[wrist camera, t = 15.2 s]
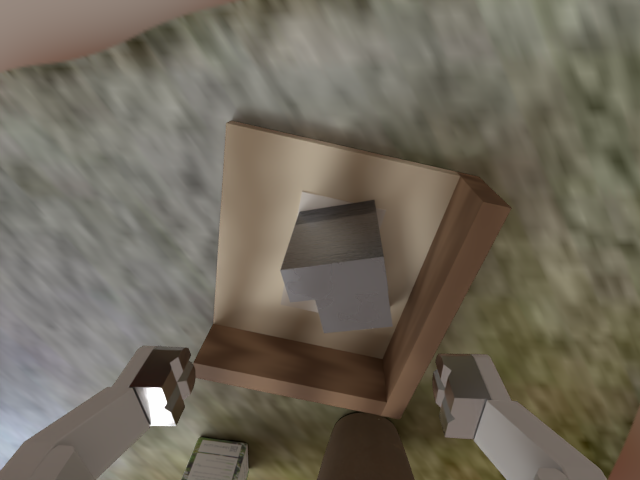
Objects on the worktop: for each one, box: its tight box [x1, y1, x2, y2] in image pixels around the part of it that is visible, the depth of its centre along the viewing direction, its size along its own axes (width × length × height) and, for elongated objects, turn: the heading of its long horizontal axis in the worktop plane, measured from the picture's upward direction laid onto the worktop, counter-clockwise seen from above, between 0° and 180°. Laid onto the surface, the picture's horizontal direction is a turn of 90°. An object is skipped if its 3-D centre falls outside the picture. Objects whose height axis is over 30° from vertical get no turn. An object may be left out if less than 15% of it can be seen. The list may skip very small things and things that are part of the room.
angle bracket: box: [280, 200, 393, 333], centre depth 21 cm, size 9×5×7 cm, turn 12°
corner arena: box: [193, 121, 511, 419], centre depth 24 cm, size 16×18×5 cm
